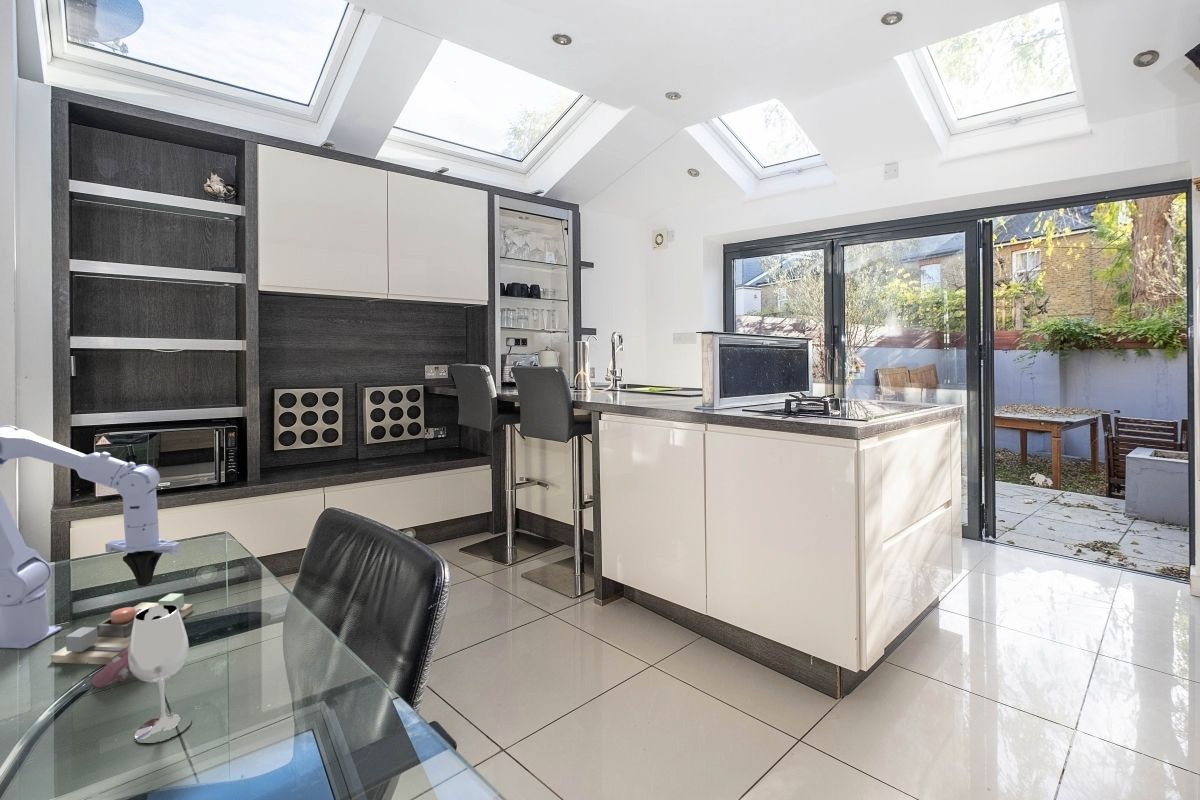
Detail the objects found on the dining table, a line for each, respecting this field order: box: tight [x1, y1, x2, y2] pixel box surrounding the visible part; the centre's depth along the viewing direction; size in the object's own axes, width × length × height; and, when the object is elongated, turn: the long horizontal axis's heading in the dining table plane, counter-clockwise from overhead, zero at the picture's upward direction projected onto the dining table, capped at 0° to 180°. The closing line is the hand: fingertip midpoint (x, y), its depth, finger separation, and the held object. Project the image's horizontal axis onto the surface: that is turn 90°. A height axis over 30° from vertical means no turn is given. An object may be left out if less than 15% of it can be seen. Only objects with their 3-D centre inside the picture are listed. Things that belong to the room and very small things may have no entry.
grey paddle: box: [64, 626, 98, 652], centre depth 114 cm, size 3×4×3 cm
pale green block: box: [157, 593, 185, 610], centre depth 129 cm, size 3×4×3 cm
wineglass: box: [128, 604, 190, 740], centre depth 94 cm, size 8×8×20 cm
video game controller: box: [91, 648, 132, 688], centre depth 109 cm, size 10×5×7 cm
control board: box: [50, 602, 195, 665], centre depth 123 cm, size 12×22×4 cm, turn 179°
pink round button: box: [110, 606, 136, 625], centre depth 122 cm, size 4×4×2 cm
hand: (145, 583), depth 126 cm, fingers closed
